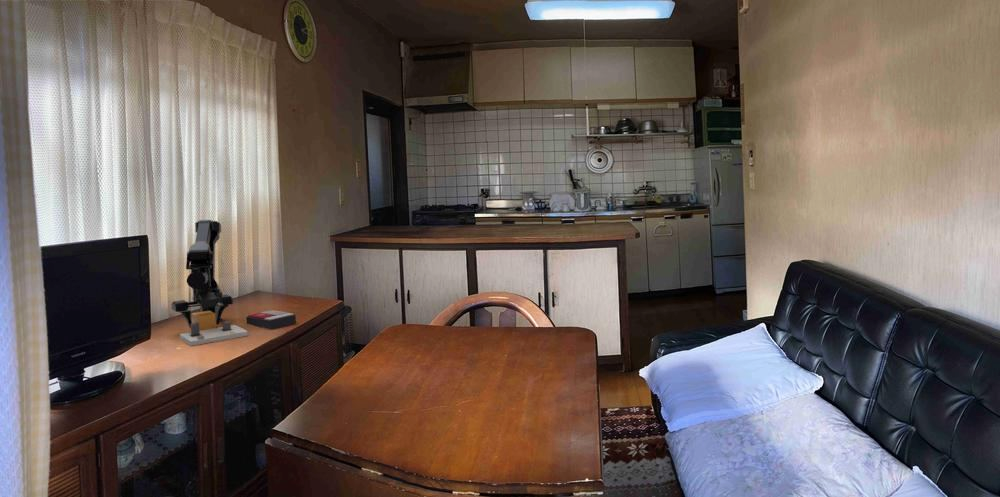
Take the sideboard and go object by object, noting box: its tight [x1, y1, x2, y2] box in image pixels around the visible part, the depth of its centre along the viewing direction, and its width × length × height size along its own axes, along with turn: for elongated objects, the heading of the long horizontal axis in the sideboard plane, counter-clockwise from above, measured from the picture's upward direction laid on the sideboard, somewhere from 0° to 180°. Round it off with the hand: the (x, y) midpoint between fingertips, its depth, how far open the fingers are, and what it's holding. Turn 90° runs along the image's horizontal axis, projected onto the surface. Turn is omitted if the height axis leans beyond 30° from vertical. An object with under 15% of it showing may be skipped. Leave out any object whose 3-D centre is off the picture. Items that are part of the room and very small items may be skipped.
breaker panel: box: [179, 324, 249, 347], centre depth 196 cm, size 12×18×2 cm, turn 134°
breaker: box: [190, 323, 200, 336], centre depth 193 cm, size 3×3×4 cm
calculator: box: [246, 309, 297, 331], centre depth 215 cm, size 11×4×15 cm
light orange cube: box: [191, 311, 217, 331], centre depth 205 cm, size 6×6×6 cm
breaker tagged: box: [221, 320, 232, 331], centre depth 200 cm, size 3×3×4 cm
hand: (204, 326), depth 205 cm, fingers open, 8 cm apart
